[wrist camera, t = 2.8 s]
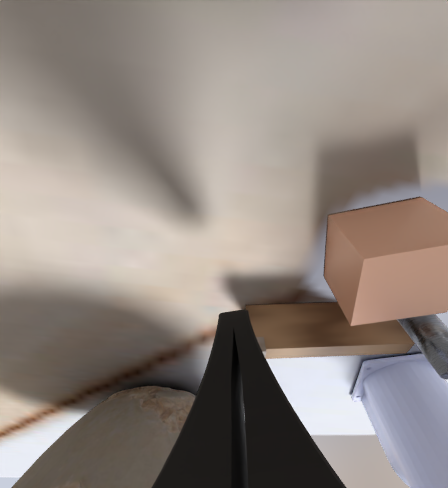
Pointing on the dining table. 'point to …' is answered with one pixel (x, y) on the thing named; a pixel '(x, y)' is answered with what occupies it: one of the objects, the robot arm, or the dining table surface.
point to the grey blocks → (430, 340)
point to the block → (388, 261)
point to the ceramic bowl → (115, 442)
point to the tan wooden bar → (322, 332)
